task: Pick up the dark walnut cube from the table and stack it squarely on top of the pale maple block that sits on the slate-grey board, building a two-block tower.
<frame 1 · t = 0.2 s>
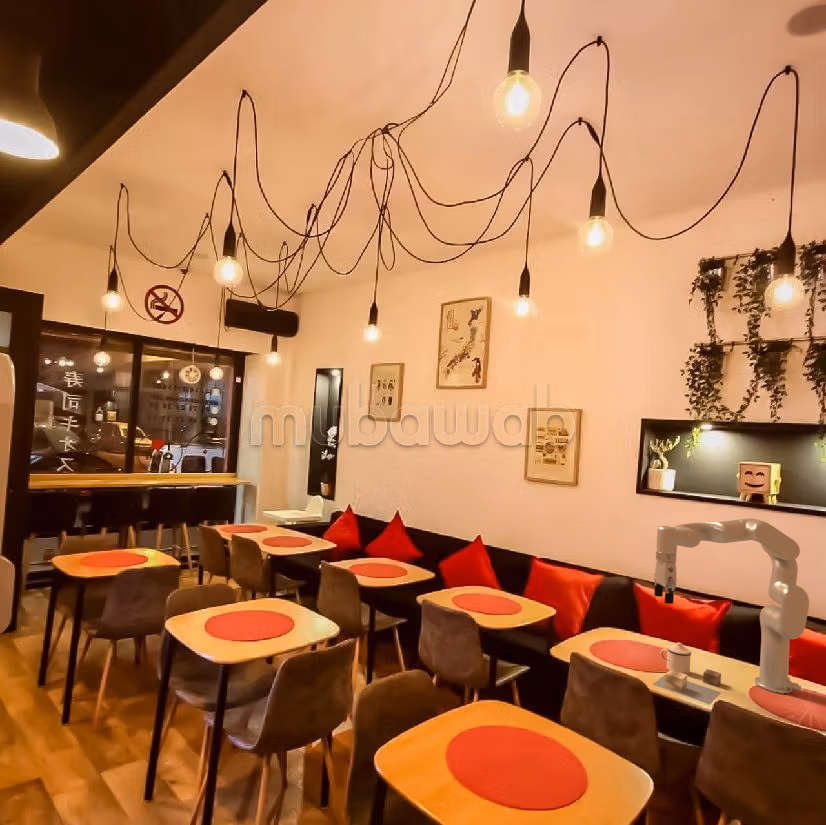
hand: (663, 599, 227), 31 cm above the table, tool pointing down, fingers open, 9 cm apart
slate board: (686, 690, 214), on the table
teacup with lid: (674, 670, 233), on the table
walnut block: (711, 685, 221), on the table
maple block: (675, 687, 214), point 1 cm above the table, touching slate board
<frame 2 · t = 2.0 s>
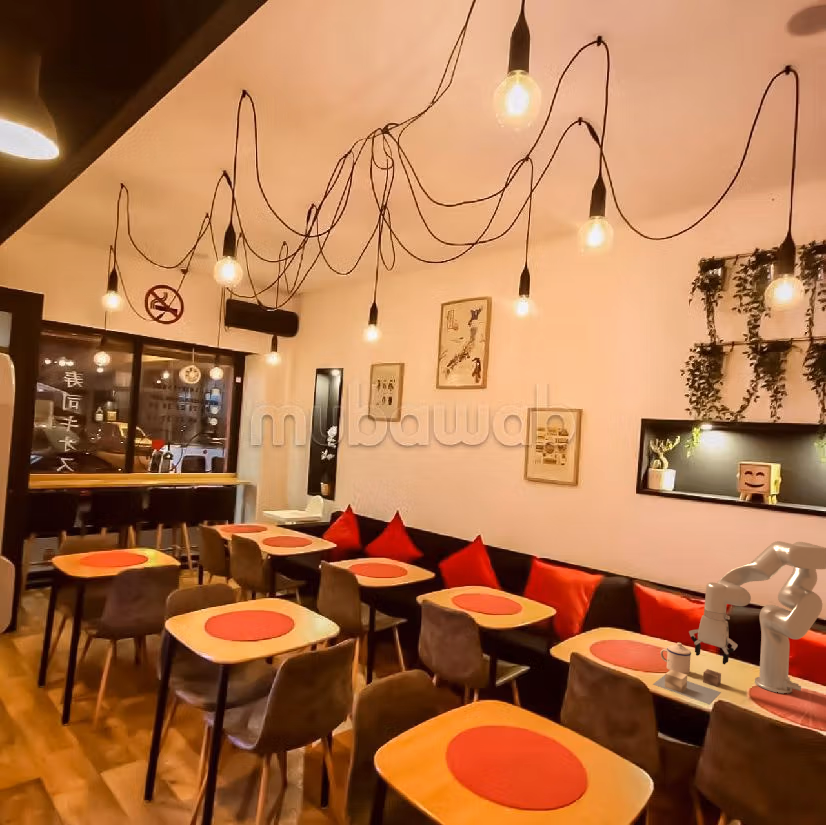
hand: (711, 659, 221), 10 cm above the table, tool pointing down, fingers open, 9 cm apart
nothing on the table moved.
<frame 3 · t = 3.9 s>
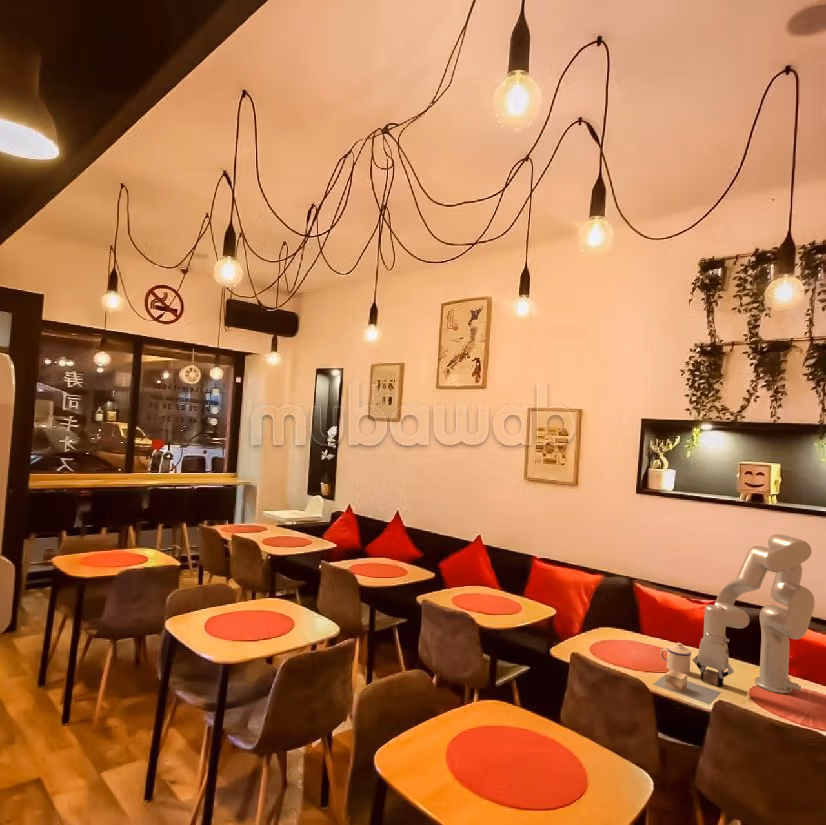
hand: (711, 684, 221), 0 cm above the table, tool pointing down, fingers closed on walnut block, 5 cm apart
walnut block: (711, 685, 221), on the table, touching gripper
everything else where it was.
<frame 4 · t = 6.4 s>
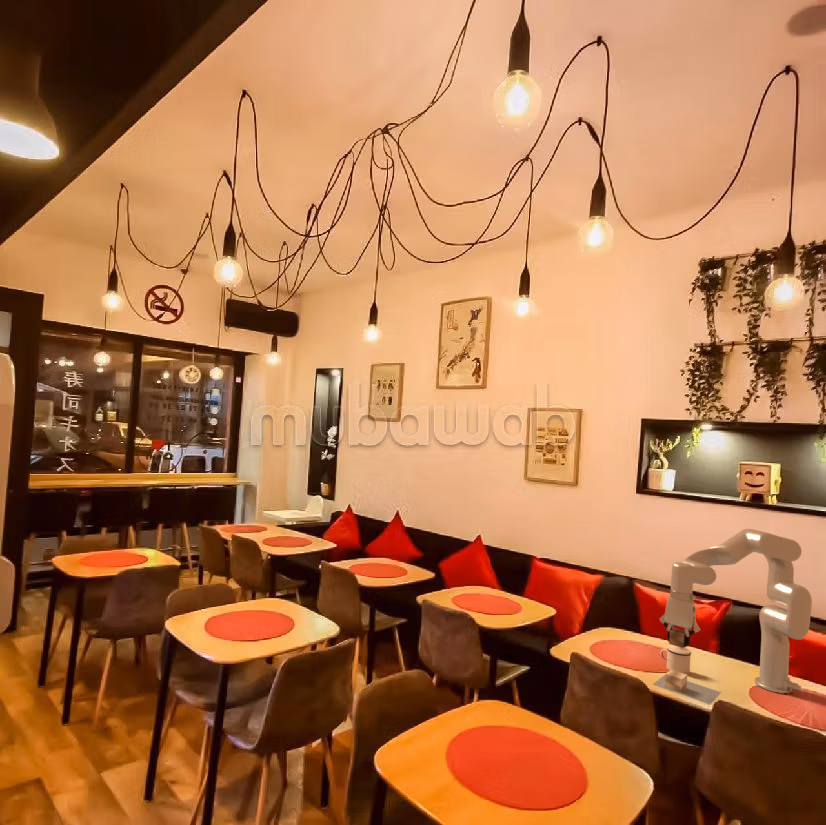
hand: (678, 643, 215), 18 cm above the table, tool pointing down, fingers closed on walnut block, 4 cm apart
walnut block: (678, 644, 214), point 17 cm above the table, touching gripper
everything else where it was.
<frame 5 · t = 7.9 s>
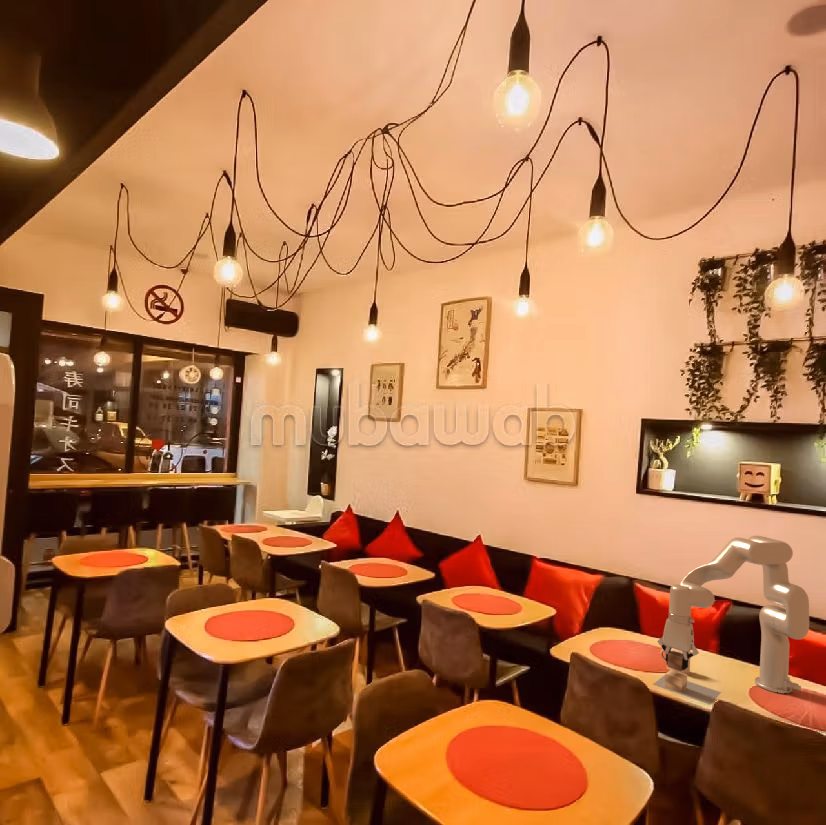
hand: (676, 666, 214), 9 cm above the table, tool pointing down, fingers closed on walnut block, 4 cm apart
walnut block: (676, 667, 214), point 9 cm above the table, touching gripper
everything else where it was.
when the fingers open (7 cm above the table, at t = 9.1 s): walnut block stays where it is, resting on maple block.
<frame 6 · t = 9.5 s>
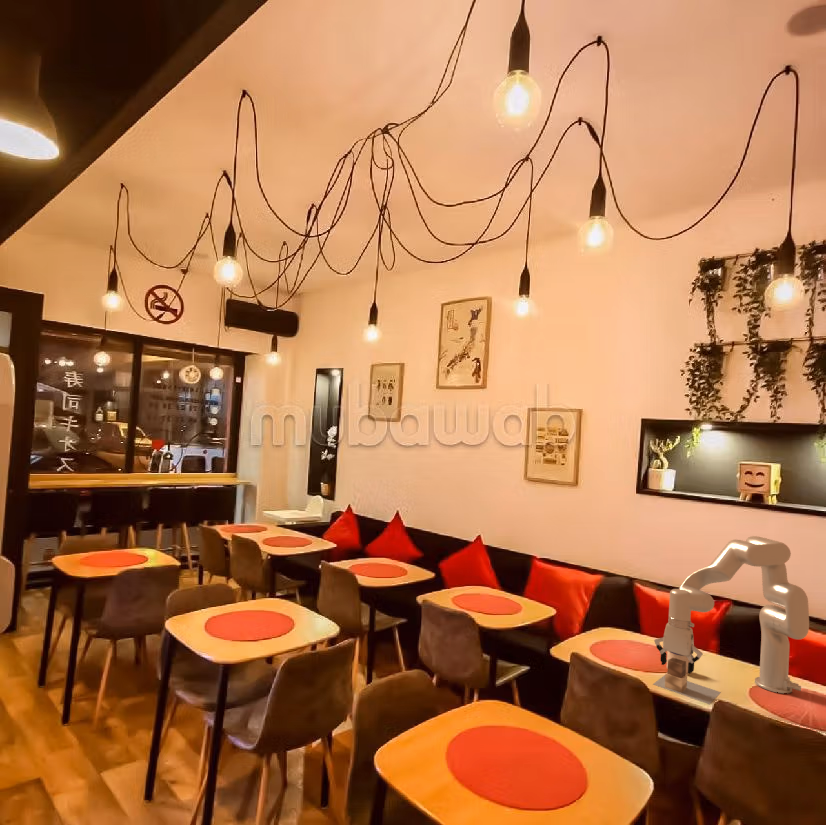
hand: (676, 668, 214), 8 cm above the table, tool pointing down, fingers open, 9 cm apart
walnut block: (676, 674, 214), point 6 cm above the table, touching maple block
maple block: (675, 687, 214), point 1 cm above the table, touching slate board, walnut block
everything else where it was.
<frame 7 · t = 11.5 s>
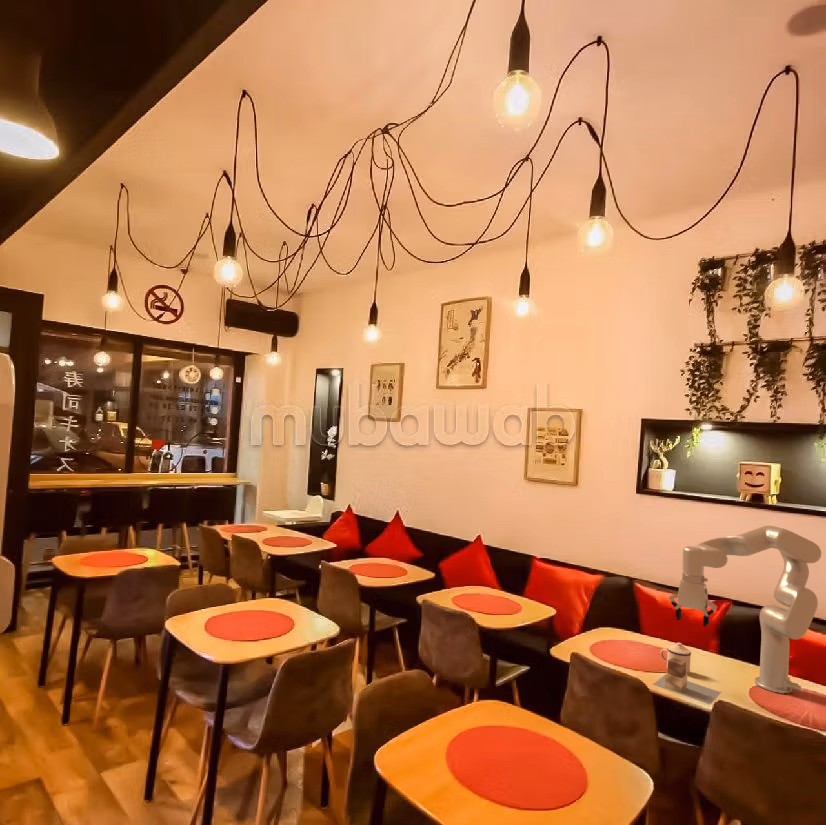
hand: (692, 622, 221), 24 cm above the table, tool pointing down, fingers open, 9 cm apart
nothing on the table moved.
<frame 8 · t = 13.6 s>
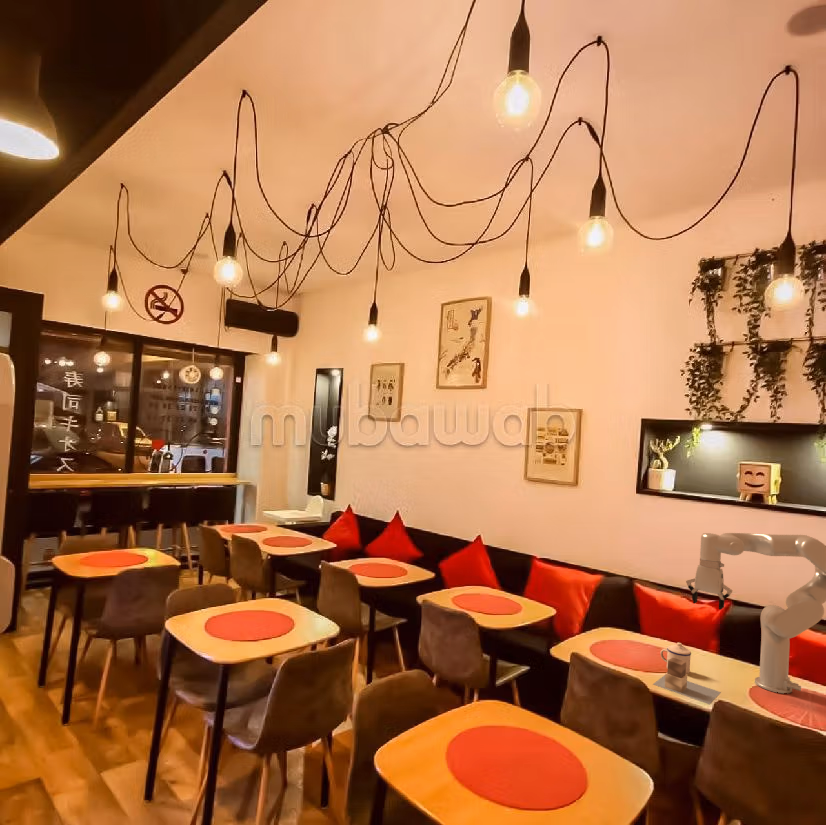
hand: (707, 605, 231), 28 cm above the table, tool pointing down, fingers open, 9 cm apart
nothing on the table moved.
at the end: walnut block 0.0 cm off-centre on the maple block, point 5.0 cm above the maple block's base; walnut block tilted 0°; maple block moved 0.0 cm from its start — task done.
